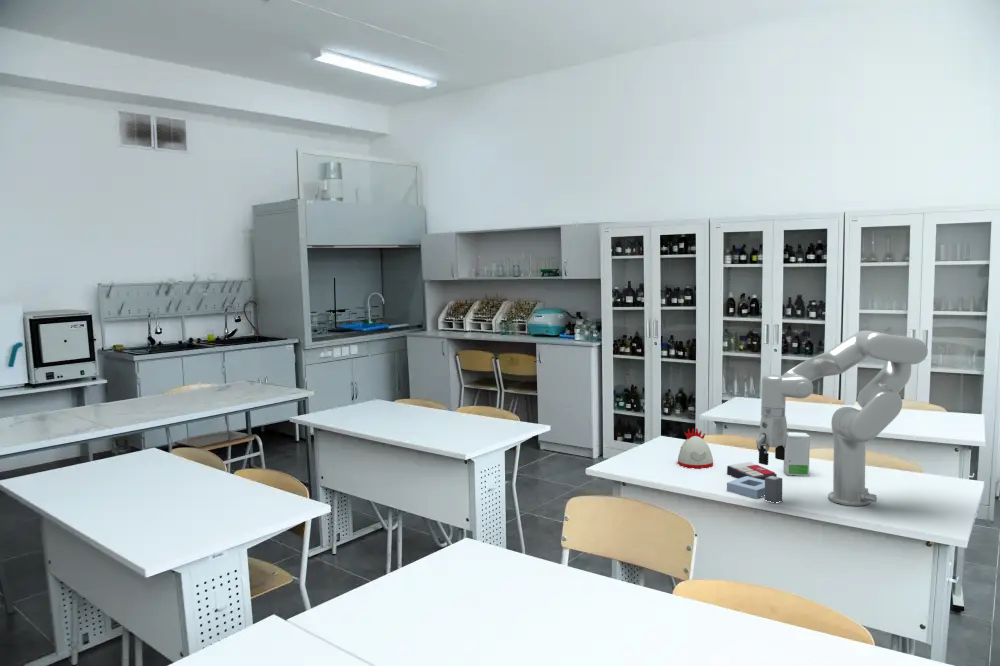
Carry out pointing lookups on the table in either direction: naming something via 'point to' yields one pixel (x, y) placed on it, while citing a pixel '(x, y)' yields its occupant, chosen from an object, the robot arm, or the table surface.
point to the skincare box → (797, 454)
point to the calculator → (749, 471)
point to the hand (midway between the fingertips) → (771, 461)
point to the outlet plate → (747, 486)
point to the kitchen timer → (695, 452)
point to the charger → (773, 489)
